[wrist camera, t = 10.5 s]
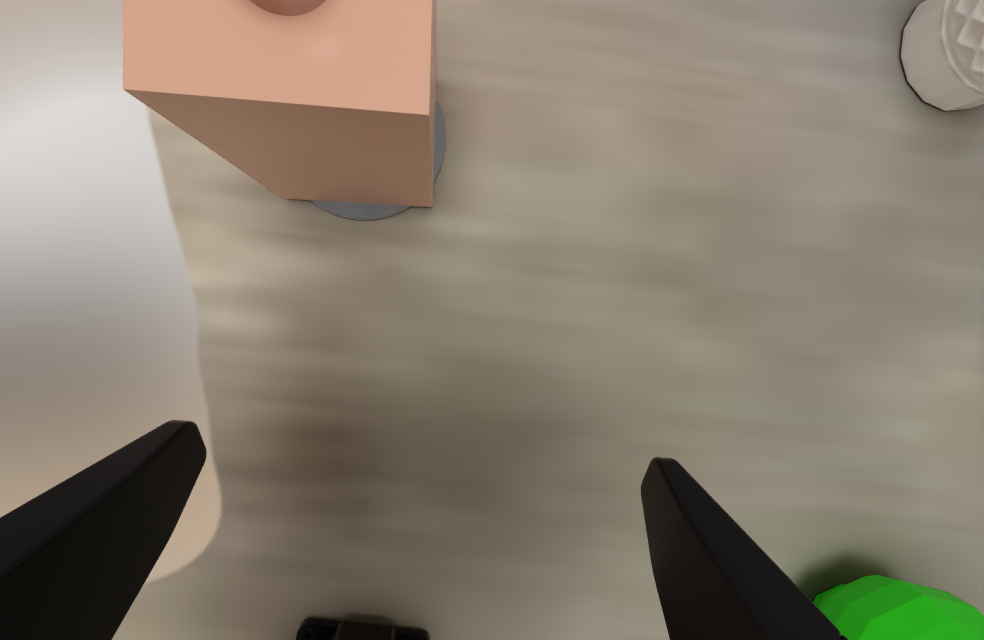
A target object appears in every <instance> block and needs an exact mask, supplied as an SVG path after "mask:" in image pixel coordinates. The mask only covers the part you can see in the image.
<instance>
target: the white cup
mask: <svg viewBox="0 0 984 640" xmlns="http://www.w3.org/2000/svg"><path fill="white" fill-rule="evenodd" d="M901 60H902V63H903V67H904V71H905V74H906V78H907V81H908V83H909V84H910V85H911V86H912V88H913V89H914V90H915V91H916V93H917V94H918V95H919V96H920V97H921V99H922V100H923V101H924V102H927V103H929V104H931V105H933V106H935V107H937V108H940V109H942V110H944V111H950V110H961V109H970V108H973V107H976V106H979V105H982V104H984V0H925V1H924V2H922V3H921V4H919V5H918V6H917V7H916V9H915V10H914V12H913V14H912V16H911V17H910V19H909V21H908V23H907V24H906V26H905V28H904V31H903V39H902V47H901Z"/></svg>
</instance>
